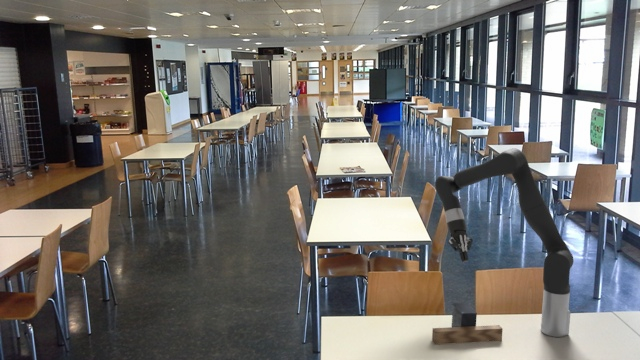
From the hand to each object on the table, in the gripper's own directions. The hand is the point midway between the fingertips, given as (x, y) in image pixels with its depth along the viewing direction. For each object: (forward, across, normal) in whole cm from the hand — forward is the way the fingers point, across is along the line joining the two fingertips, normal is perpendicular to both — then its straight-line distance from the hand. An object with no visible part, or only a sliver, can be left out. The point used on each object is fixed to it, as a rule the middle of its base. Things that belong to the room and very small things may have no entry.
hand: (465, 261), depth 225 cm
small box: (+28, -8, +3) cm, 29 cm away
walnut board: (+31, -12, -2) cm, 33 cm away
